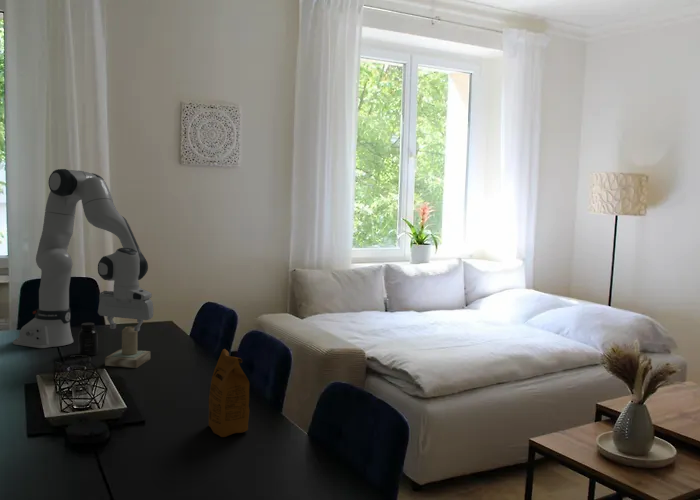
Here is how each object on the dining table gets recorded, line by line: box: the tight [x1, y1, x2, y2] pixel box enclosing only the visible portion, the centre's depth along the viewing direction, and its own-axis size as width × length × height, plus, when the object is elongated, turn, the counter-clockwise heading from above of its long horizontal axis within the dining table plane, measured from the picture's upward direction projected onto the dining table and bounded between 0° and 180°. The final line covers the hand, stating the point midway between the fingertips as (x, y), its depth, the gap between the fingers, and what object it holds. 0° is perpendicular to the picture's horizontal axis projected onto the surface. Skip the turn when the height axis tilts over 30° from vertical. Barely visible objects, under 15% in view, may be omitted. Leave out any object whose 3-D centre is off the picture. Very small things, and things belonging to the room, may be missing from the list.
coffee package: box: [208, 348, 250, 438], centre depth 183 cm, size 10×12×22 cm
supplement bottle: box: [78, 322, 99, 357], centre depth 251 cm, size 7×7×12 cm
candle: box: [121, 325, 139, 355], centre depth 243 cm, size 6×6×10 cm
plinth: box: [104, 348, 151, 369], centre depth 243 cm, size 12×12×3 cm
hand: (125, 329), depth 241 cm, fingers open, 8 cm apart
